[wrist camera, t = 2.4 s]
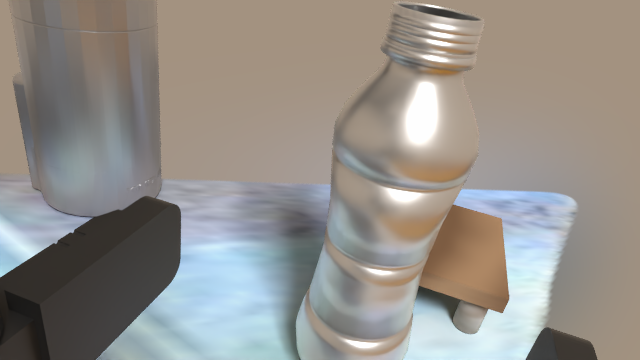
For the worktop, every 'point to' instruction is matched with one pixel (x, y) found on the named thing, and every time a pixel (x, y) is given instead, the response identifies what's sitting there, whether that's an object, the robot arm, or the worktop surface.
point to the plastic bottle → (392, 185)
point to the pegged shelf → (469, 266)
